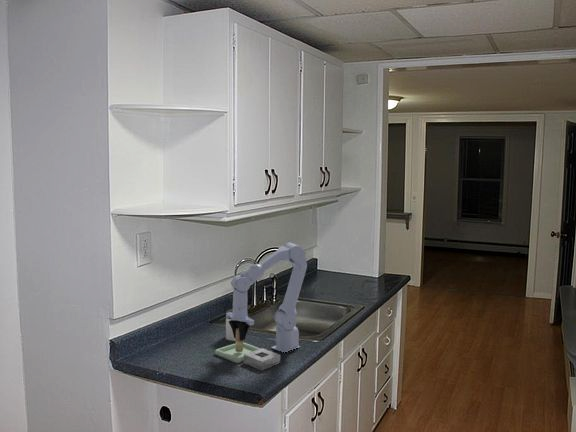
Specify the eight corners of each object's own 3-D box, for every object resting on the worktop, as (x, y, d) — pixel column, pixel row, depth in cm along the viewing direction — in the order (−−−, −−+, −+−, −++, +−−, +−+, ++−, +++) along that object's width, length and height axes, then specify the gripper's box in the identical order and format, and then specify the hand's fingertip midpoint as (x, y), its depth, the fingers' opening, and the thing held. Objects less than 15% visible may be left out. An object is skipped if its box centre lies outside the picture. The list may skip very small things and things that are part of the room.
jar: (244, 341, 241) (244, 314, 239) (225, 341, 240) (225, 314, 239) (244, 334, 250) (245, 308, 248) (226, 334, 249) (226, 308, 248)
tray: (241, 346, 235) (241, 341, 235) (263, 354, 226) (263, 349, 226) (215, 354, 225) (215, 349, 224) (237, 363, 216) (237, 358, 216)
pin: (239, 348, 227) (239, 327, 226) (244, 350, 225) (244, 329, 224) (233, 350, 225) (234, 328, 224) (238, 352, 223) (239, 330, 222)
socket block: (262, 356, 224) (262, 348, 223) (280, 363, 217) (280, 354, 216) (243, 363, 216) (243, 354, 216) (261, 370, 210) (261, 361, 209)
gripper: (220, 303, 225) (220, 336, 227) (245, 311, 215) (244, 345, 217) (233, 300, 230) (233, 332, 232) (258, 308, 220) (257, 341, 222)
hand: (239, 338), depth 225 cm, fingers closed on pin, 3 cm apart
